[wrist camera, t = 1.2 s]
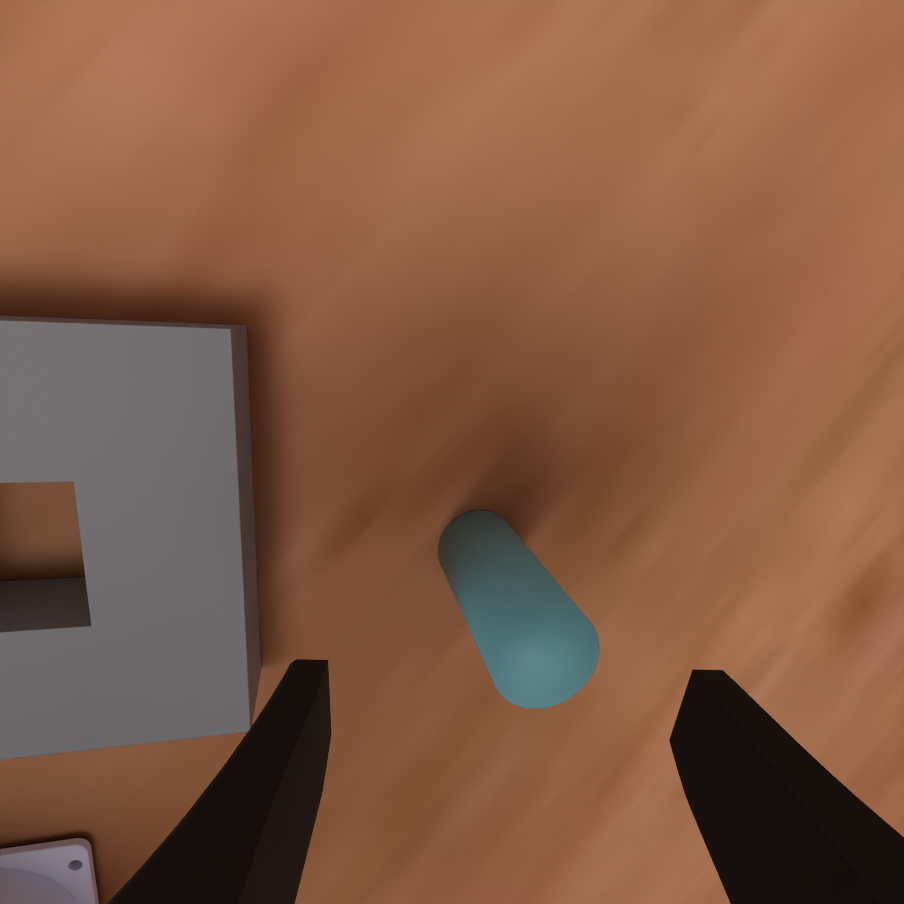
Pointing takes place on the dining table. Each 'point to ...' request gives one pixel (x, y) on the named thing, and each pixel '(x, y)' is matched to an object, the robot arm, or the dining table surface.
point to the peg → (517, 612)
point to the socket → (131, 534)
